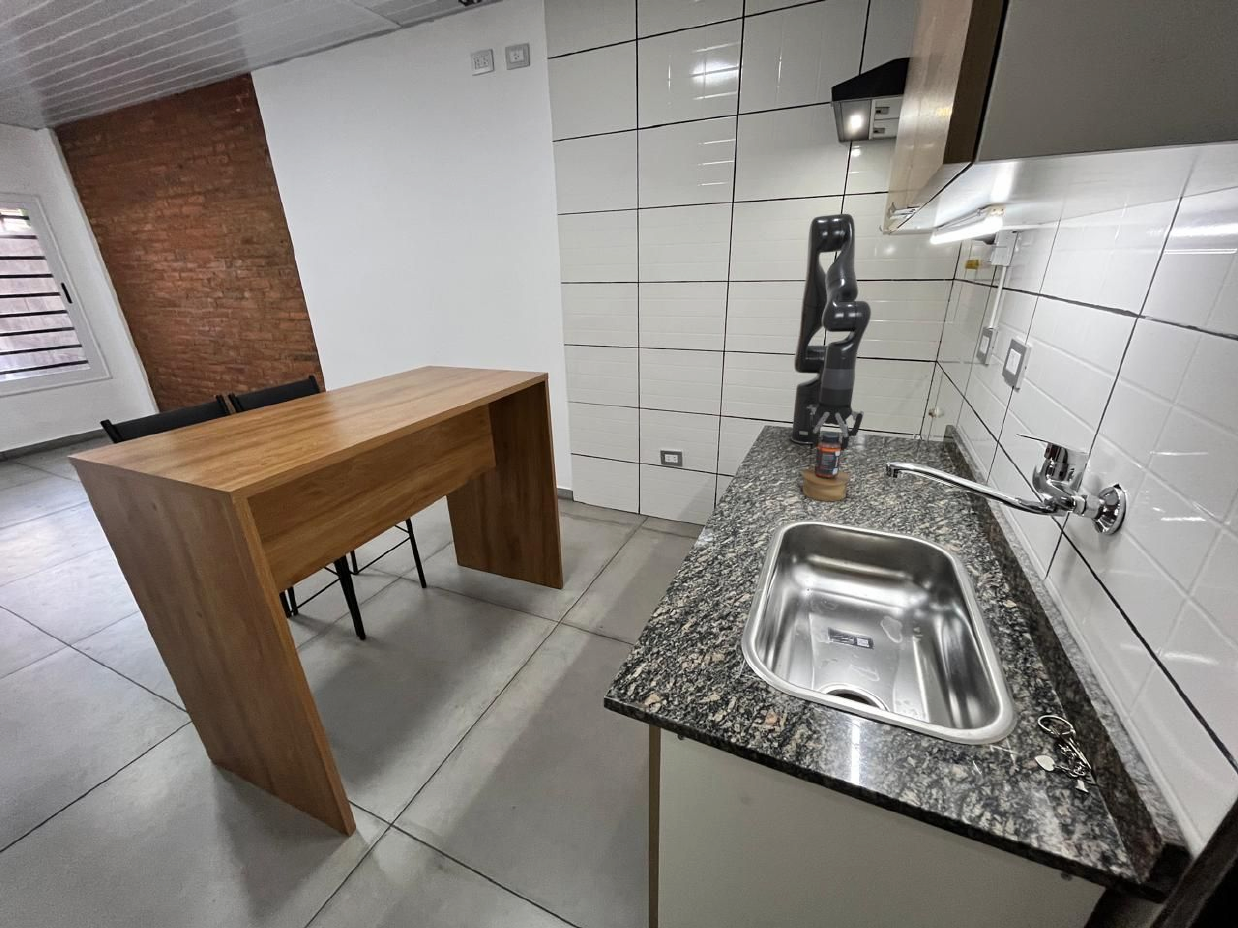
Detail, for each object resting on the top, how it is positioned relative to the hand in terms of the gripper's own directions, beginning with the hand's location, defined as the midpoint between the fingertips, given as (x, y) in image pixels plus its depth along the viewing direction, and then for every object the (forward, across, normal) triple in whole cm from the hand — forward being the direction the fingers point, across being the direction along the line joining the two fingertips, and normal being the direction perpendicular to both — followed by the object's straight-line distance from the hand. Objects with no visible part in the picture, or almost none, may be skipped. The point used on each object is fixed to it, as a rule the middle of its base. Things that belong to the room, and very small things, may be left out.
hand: (829, 447), depth 127 cm
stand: (+13, 0, 0) cm, 13 cm away
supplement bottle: (+8, 0, 0) cm, 8 cm away
